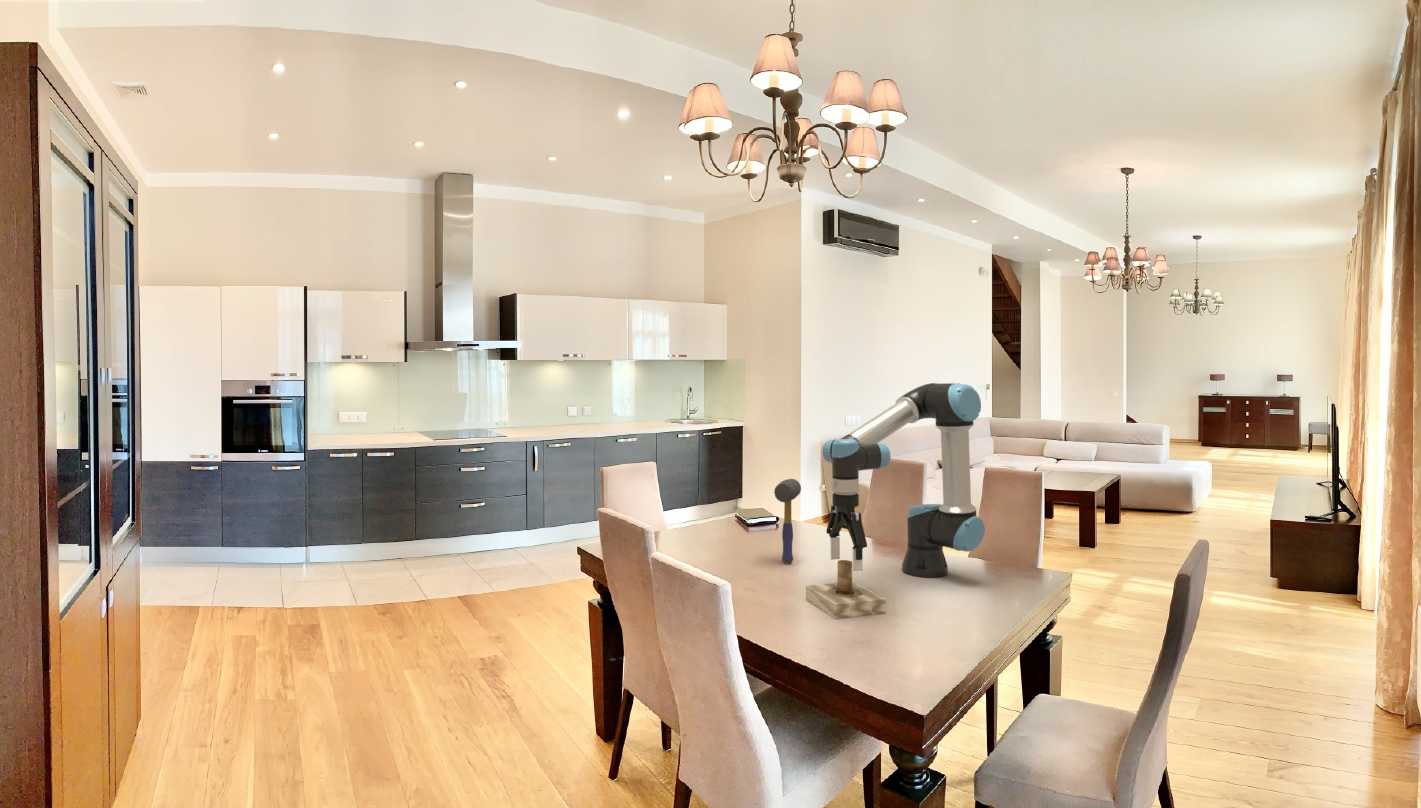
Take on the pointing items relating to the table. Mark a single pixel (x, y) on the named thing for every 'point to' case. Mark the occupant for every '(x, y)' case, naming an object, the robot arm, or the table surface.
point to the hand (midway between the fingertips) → (846, 564)
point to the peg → (844, 577)
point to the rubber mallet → (787, 514)
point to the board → (845, 600)
